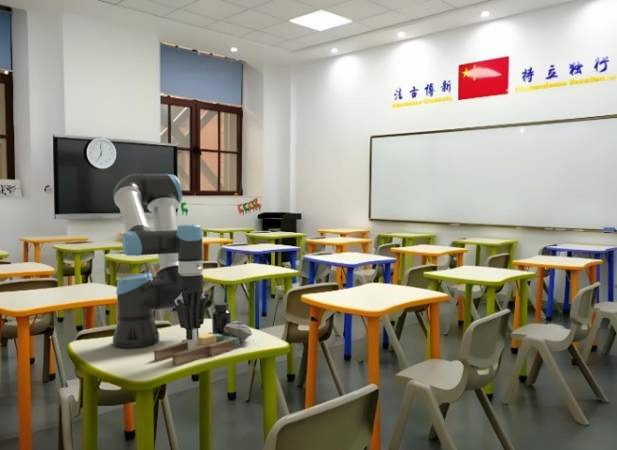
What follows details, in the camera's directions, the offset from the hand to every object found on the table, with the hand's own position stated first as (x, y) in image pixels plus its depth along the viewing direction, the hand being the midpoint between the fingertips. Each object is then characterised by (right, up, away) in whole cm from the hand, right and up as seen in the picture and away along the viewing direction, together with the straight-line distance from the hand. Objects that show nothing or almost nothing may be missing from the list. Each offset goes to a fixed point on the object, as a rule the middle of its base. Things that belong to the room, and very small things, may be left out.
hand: (192, 348), depth 158 cm
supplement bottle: (+6, -1, +20) cm, 21 cm away
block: (+3, -2, +4) cm, 5 cm away
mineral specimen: (+12, -1, +13) cm, 18 cm away
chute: (0, -2, 0) cm, 2 cm away
